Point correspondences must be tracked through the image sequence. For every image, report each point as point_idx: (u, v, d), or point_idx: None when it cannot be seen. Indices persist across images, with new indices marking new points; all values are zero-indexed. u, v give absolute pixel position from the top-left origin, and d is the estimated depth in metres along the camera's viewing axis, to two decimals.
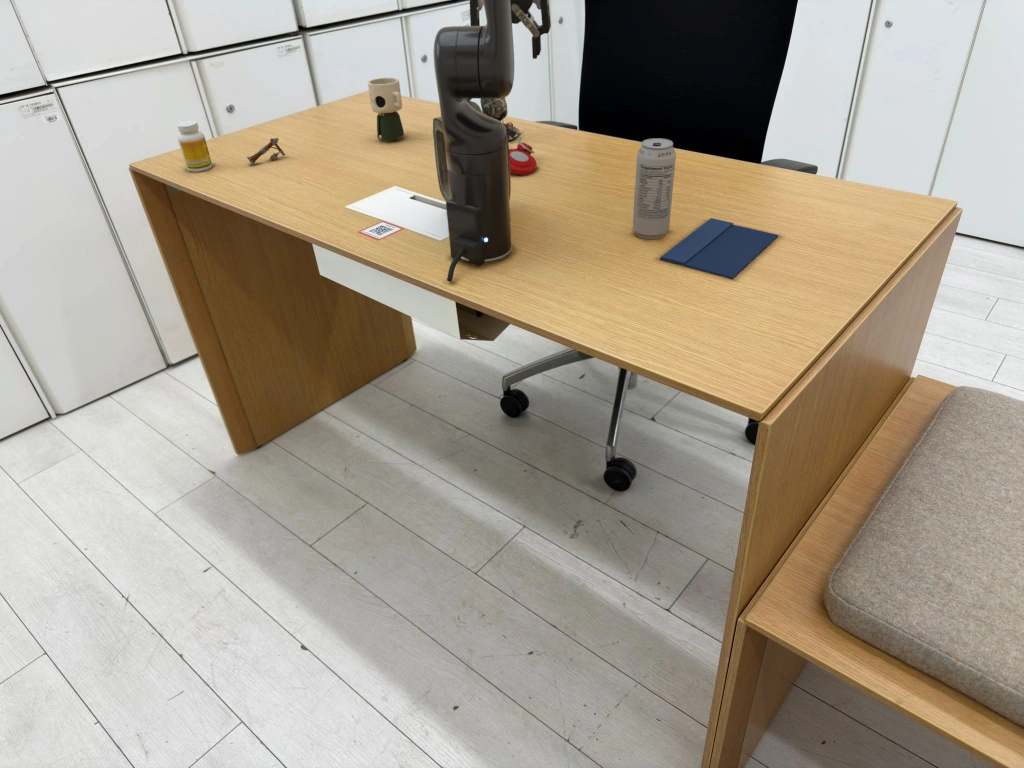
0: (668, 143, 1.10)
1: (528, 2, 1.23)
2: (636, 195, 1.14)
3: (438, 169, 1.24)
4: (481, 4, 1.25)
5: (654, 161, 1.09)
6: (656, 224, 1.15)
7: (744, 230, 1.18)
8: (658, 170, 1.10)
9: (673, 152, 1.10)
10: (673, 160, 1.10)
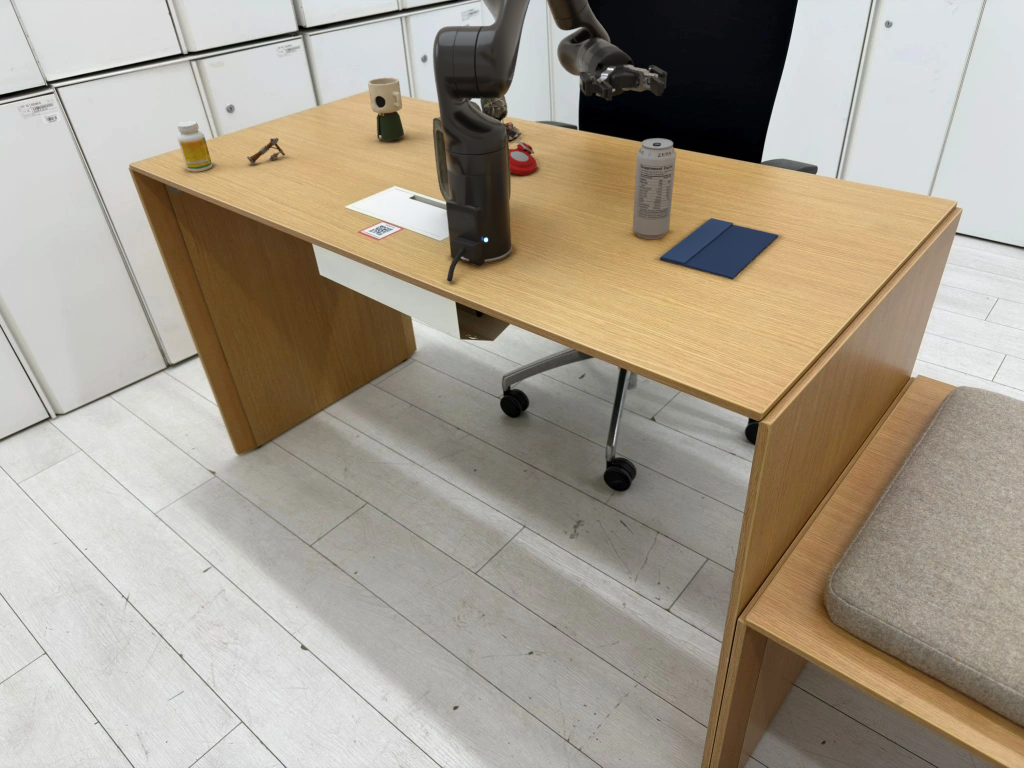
0: (668, 143, 1.10)
1: None
2: (636, 195, 1.14)
3: (438, 169, 1.24)
4: (591, 77, 1.23)
5: (654, 161, 1.09)
6: (656, 223, 1.15)
7: (744, 230, 1.18)
8: (658, 170, 1.10)
9: (673, 152, 1.10)
10: (673, 160, 1.10)
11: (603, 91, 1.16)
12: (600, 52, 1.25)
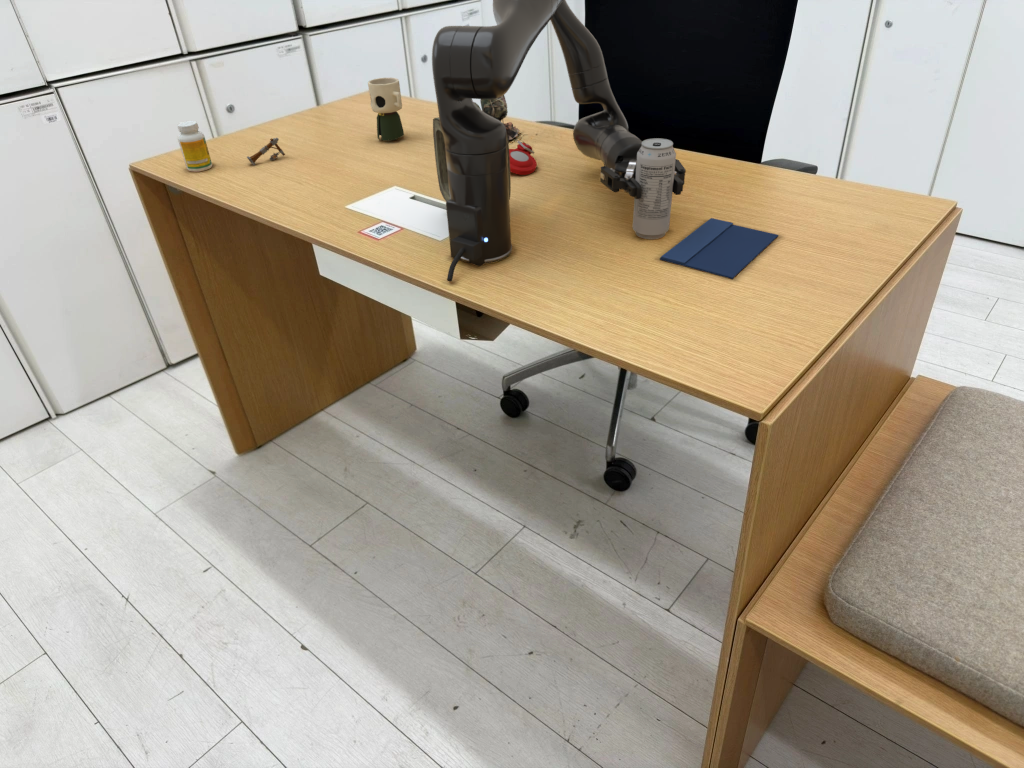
0: (668, 143, 1.10)
1: None
2: None
3: (438, 169, 1.24)
4: None
5: (654, 161, 1.09)
6: (656, 224, 1.15)
7: (744, 230, 1.18)
8: (658, 170, 1.10)
9: (673, 152, 1.10)
10: (673, 160, 1.10)
11: (632, 190, 1.12)
12: (620, 144, 1.22)
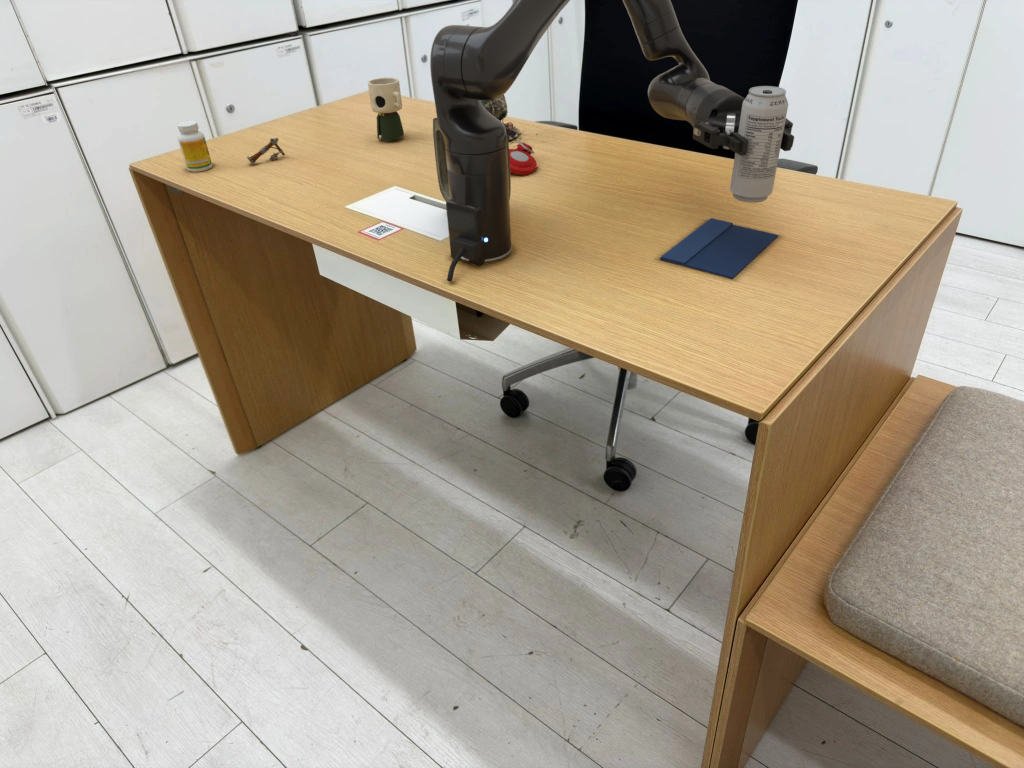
0: (780, 91, 0.97)
1: None
2: None
3: (438, 169, 1.24)
4: None
5: (766, 110, 0.96)
6: (760, 184, 1.02)
7: (744, 230, 1.18)
8: (769, 122, 0.96)
9: (786, 101, 0.96)
10: (786, 110, 0.97)
11: (736, 145, 0.99)
12: (713, 96, 1.09)
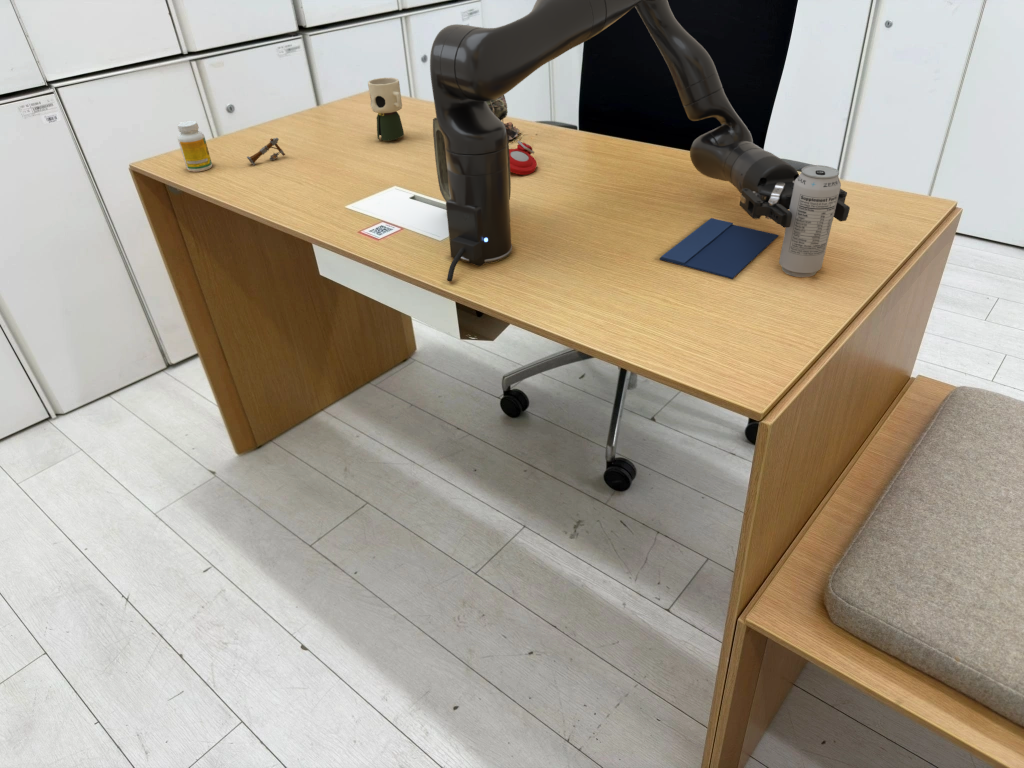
0: (833, 171, 0.97)
1: None
2: (790, 228, 1.02)
3: (438, 169, 1.24)
4: (755, 195, 1.06)
5: (819, 191, 0.96)
6: (811, 260, 1.02)
7: (744, 230, 1.18)
8: (822, 202, 0.97)
9: (839, 181, 0.97)
10: (838, 190, 0.97)
11: (780, 217, 0.99)
12: (761, 164, 1.09)
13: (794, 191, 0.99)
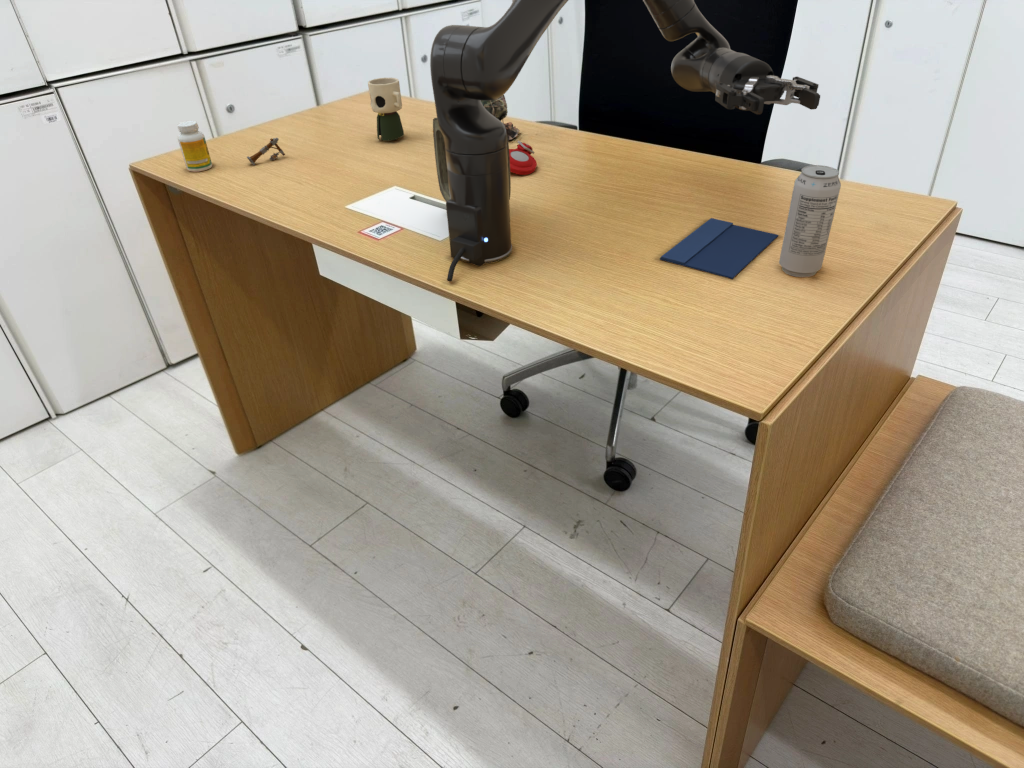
0: (833, 171, 0.97)
1: None
2: (790, 228, 1.02)
3: (438, 169, 1.24)
4: None
5: (819, 191, 0.96)
6: (811, 260, 1.02)
7: (744, 230, 1.18)
8: (822, 202, 0.97)
9: (839, 181, 0.97)
10: (838, 190, 0.97)
11: (752, 103, 1.03)
12: (736, 62, 1.12)
13: (794, 191, 0.99)
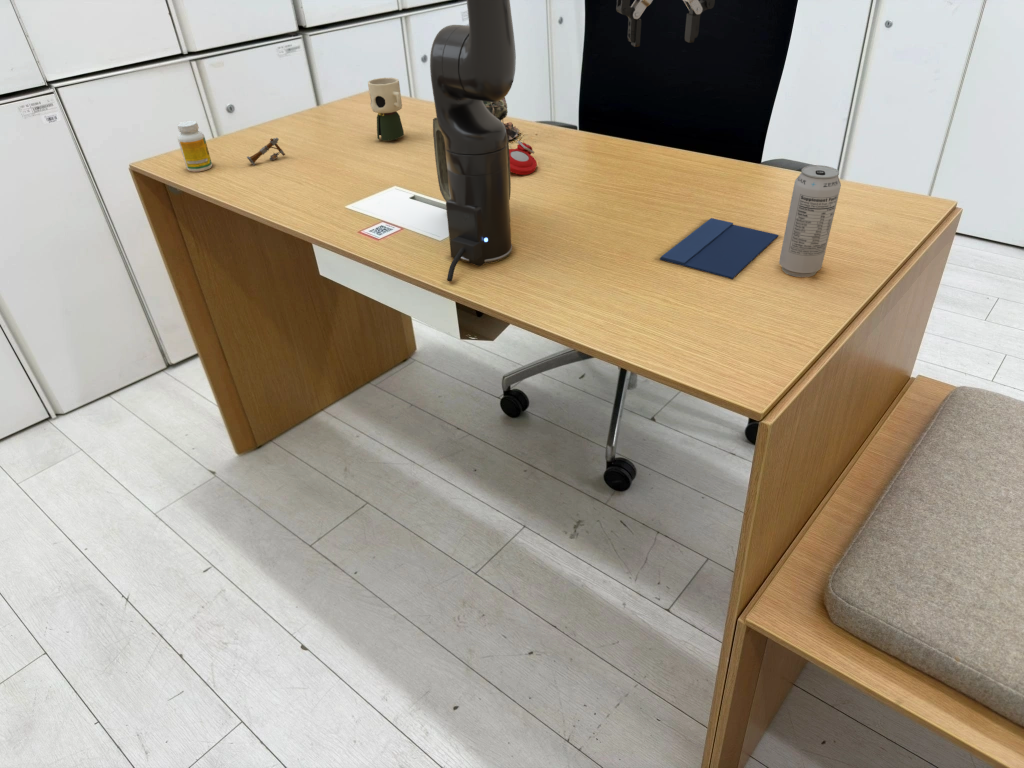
0: (833, 171, 0.97)
1: None
2: (790, 228, 1.02)
3: (438, 169, 1.24)
4: None
5: (819, 191, 0.96)
6: (811, 260, 1.02)
7: (744, 230, 1.18)
8: (822, 202, 0.97)
9: (839, 181, 0.97)
10: (838, 190, 0.97)
11: (630, 40, 1.06)
12: None
13: (794, 191, 0.99)
